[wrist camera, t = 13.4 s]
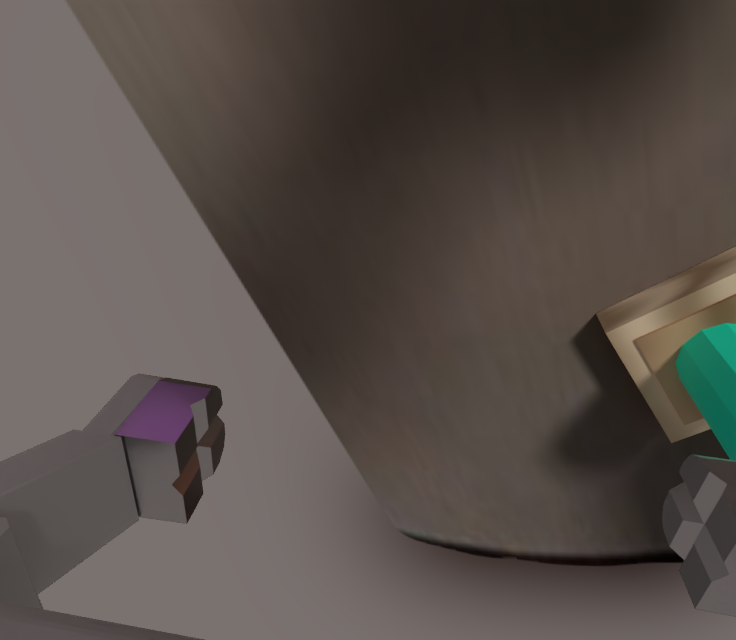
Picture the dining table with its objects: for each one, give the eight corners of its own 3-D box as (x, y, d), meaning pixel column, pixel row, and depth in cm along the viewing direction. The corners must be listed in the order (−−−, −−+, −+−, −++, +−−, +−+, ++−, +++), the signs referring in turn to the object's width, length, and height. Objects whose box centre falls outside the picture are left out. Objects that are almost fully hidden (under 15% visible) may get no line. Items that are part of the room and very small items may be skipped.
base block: (763, 232, 37) (789, 250, 34) (818, 357, 41) (845, 383, 38) (595, 313, 41) (606, 335, 39) (658, 418, 45) (672, 445, 42)
